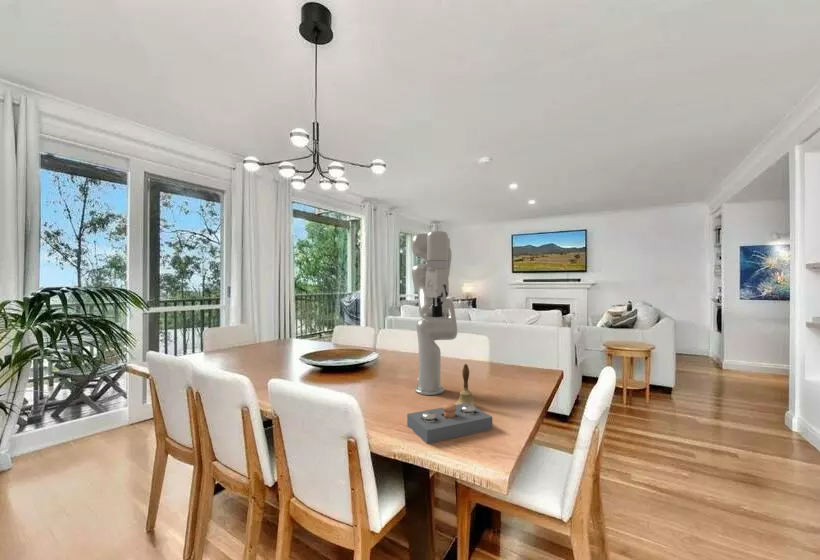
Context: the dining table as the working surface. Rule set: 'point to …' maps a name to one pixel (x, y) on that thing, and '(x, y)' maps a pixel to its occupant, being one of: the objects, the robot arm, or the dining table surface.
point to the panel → (448, 424)
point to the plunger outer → (429, 416)
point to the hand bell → (466, 389)
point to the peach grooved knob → (449, 410)
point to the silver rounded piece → (468, 409)
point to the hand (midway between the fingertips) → (437, 316)
